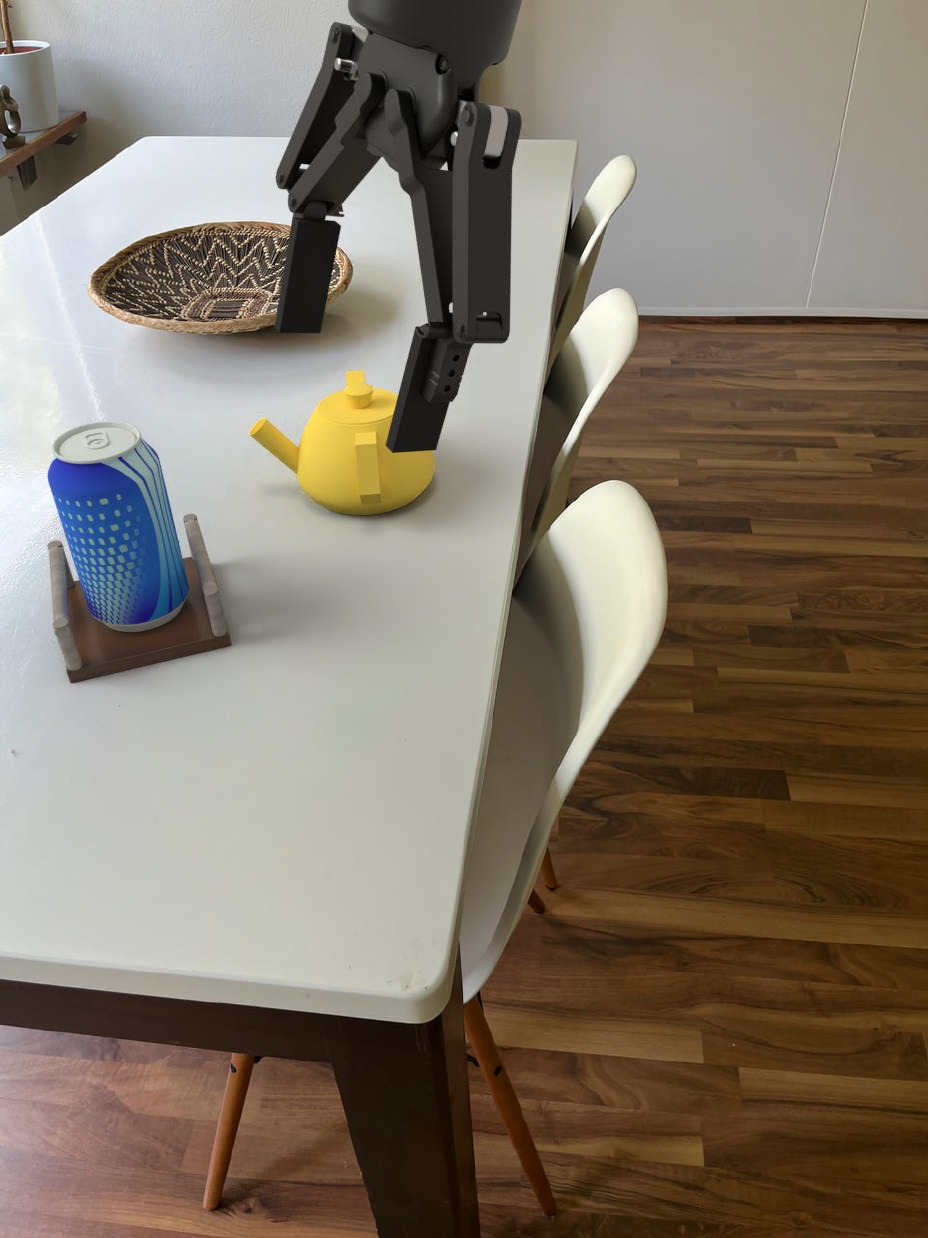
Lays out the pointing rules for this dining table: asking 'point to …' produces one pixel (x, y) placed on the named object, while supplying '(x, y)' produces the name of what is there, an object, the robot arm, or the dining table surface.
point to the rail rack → (112, 651)
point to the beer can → (118, 525)
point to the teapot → (351, 452)
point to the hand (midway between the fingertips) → (349, 385)
